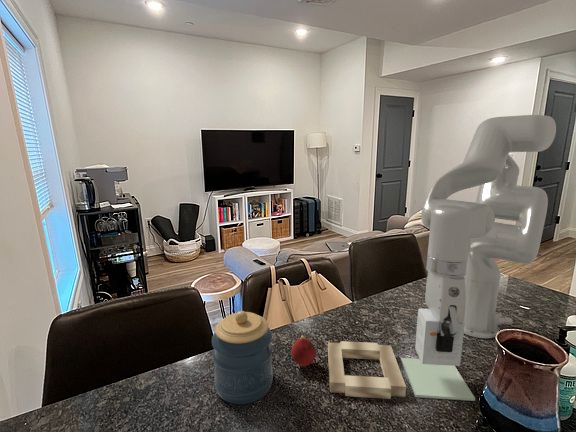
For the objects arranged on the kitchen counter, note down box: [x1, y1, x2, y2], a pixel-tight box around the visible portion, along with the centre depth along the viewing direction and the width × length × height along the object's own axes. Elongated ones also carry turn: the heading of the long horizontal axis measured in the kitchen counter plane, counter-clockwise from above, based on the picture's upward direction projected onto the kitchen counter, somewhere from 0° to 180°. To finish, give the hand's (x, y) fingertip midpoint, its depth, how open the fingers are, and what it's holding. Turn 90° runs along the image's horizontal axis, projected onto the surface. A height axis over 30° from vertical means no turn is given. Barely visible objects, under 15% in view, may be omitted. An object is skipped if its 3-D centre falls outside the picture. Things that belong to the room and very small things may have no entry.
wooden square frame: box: [327, 340, 407, 400], centre depth 74 cm, size 16×16×2 cm
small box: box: [414, 308, 465, 367], centre depth 69 cm, size 8×6×10 cm
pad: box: [400, 357, 476, 402], centre depth 72 cm, size 12×12×1 cm
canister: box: [211, 310, 274, 405], centre depth 69 cm, size 13×13×18 cm
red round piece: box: [290, 334, 317, 367], centre depth 76 cm, size 6×6×8 cm
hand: (438, 341), depth 70 cm, fingers closed on small box, 5 cm apart
